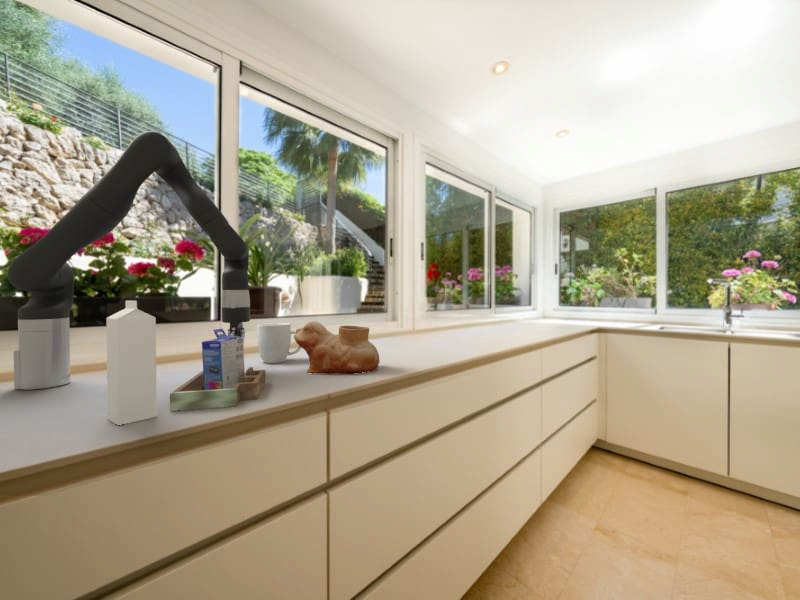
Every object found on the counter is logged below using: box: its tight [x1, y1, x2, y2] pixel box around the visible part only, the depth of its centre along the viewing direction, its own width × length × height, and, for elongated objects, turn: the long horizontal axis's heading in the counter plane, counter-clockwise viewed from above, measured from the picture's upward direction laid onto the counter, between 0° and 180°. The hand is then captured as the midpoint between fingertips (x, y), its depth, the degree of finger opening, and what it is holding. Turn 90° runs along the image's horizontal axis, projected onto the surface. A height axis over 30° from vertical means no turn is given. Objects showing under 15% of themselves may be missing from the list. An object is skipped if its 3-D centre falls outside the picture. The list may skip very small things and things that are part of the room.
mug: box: [256, 322, 302, 364], centre depth 121 cm, size 15×11×13 cm
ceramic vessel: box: [293, 320, 380, 375], centre depth 107 cm, size 14×26×15 cm, turn 88°
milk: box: [105, 300, 158, 426], centre depth 65 cm, size 6×6×22 cm
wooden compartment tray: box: [169, 366, 266, 412], centre depth 82 cm, size 16×23×4 cm
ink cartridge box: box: [201, 328, 246, 390], centre depth 88 cm, size 10×6×14 cm, turn 174°
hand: (237, 364), depth 102 cm, fingers closed
